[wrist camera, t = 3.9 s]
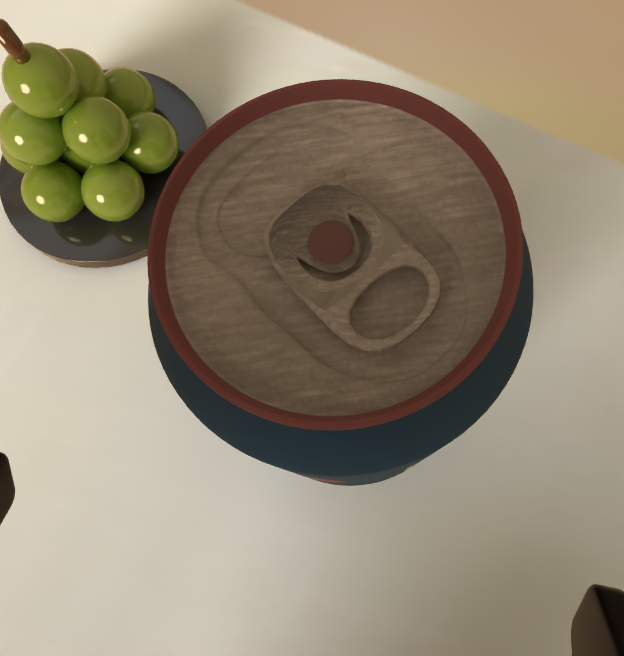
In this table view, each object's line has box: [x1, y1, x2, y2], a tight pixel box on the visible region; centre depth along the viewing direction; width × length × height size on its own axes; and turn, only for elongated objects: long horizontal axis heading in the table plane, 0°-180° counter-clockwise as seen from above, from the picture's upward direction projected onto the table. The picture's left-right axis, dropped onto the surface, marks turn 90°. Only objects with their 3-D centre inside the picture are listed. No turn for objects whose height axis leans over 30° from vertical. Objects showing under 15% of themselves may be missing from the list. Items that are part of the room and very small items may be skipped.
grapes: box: [0, 19, 208, 268], centre depth 20 cm, size 8×8×8 cm
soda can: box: [148, 79, 533, 486], centre depth 15 cm, size 7×7×12 cm
